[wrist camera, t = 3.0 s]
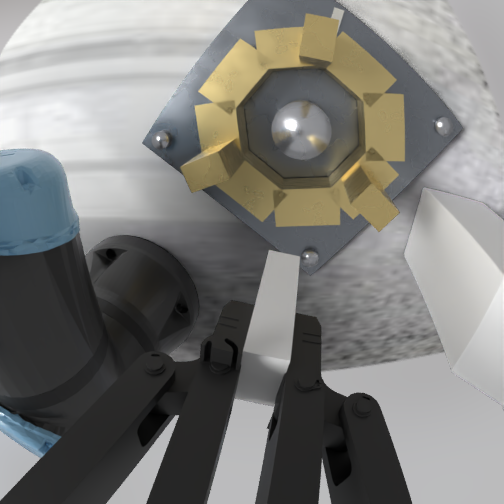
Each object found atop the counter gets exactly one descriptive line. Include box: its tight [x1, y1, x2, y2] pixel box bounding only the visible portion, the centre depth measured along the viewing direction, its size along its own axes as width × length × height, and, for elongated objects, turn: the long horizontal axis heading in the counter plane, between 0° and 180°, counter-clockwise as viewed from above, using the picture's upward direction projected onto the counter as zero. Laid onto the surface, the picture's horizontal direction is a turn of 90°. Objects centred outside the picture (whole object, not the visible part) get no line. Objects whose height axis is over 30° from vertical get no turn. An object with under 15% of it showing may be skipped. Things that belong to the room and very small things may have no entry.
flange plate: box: [142, 0, 463, 276], centre depth 22 cm, size 20×20×6 cm
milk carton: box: [404, 187, 504, 410], centre depth 19 cm, size 7×7×19 cm
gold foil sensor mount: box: [180, 13, 405, 232], centre depth 20 cm, size 15×15×8 cm
